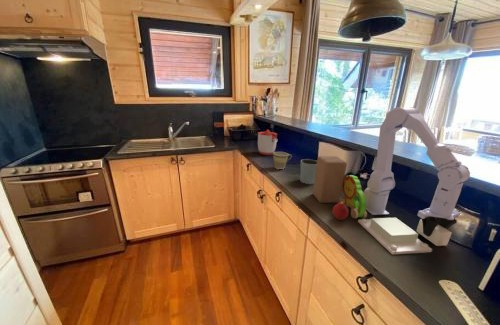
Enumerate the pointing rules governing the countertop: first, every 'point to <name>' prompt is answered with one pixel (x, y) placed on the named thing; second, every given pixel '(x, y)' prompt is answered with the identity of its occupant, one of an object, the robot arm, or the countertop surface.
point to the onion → (340, 211)
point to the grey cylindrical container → (308, 171)
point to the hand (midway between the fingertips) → (432, 234)
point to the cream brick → (436, 234)
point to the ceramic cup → (280, 159)
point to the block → (329, 179)
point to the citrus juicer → (267, 142)
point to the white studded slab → (395, 235)
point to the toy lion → (354, 196)
